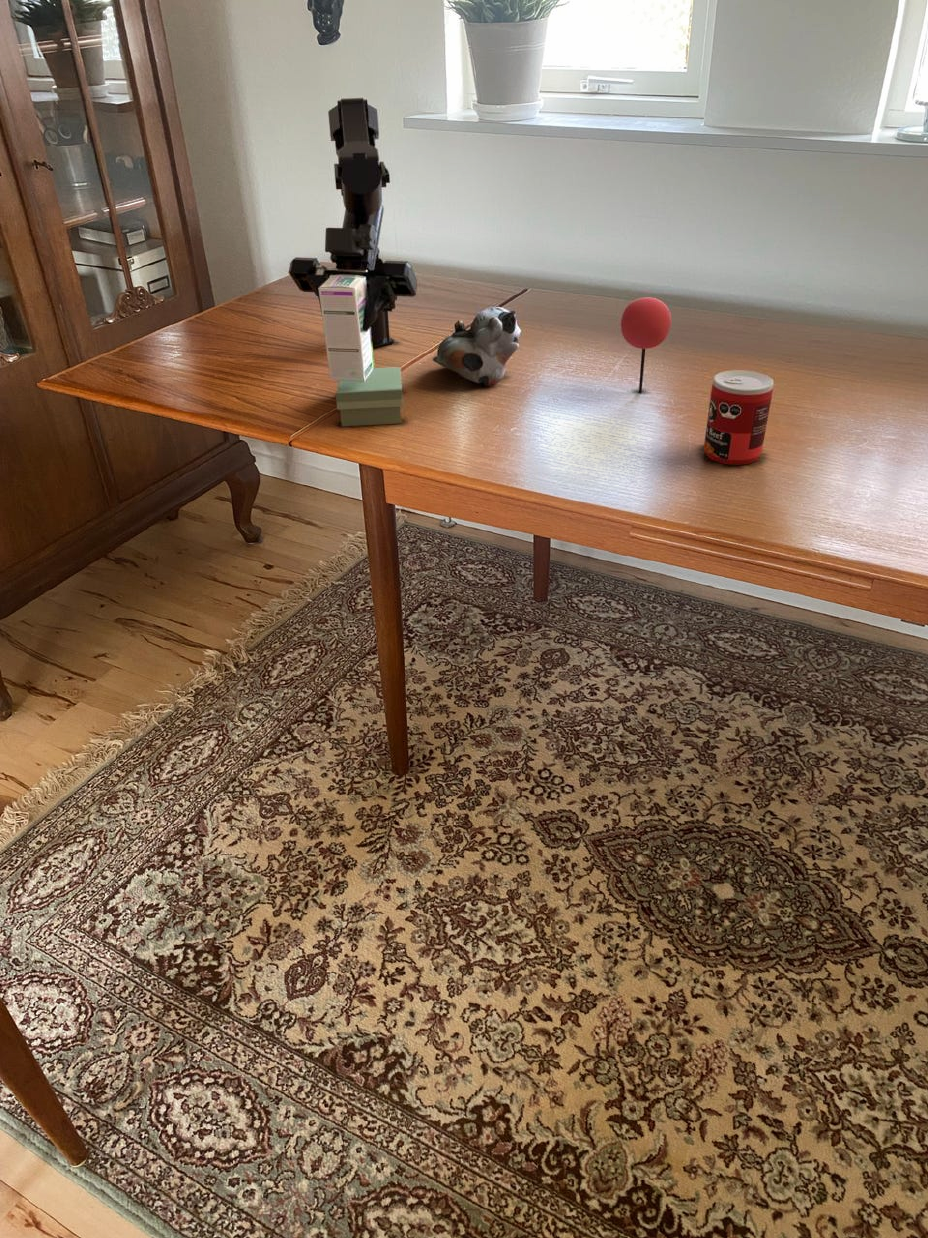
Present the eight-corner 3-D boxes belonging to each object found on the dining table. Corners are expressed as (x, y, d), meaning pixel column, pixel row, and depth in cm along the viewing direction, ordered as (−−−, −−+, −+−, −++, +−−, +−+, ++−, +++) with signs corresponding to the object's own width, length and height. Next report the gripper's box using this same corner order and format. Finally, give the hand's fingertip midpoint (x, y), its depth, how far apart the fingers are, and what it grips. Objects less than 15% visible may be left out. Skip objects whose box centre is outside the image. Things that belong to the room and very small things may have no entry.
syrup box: (365, 383, 141) (357, 287, 132) (328, 380, 142) (317, 285, 133) (375, 368, 145) (367, 274, 137) (339, 366, 146) (329, 273, 137)
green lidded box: (401, 389, 154) (399, 357, 150) (404, 423, 142) (402, 389, 139) (341, 392, 153) (338, 360, 150) (339, 427, 142) (335, 392, 138)
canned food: (696, 444, 134) (706, 370, 128) (750, 441, 134) (762, 367, 128) (712, 467, 128) (723, 391, 121) (768, 464, 128) (782, 388, 122)
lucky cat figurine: (442, 359, 165) (477, 285, 159) (501, 391, 164) (538, 317, 159) (421, 364, 151) (458, 282, 146) (486, 399, 150) (525, 318, 145)
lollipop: (666, 385, 153) (676, 292, 144) (659, 402, 147) (669, 307, 138) (620, 380, 155) (628, 289, 146) (611, 397, 149) (618, 303, 140)
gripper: (284, 199, 134) (266, 299, 132) (408, 202, 131) (391, 305, 129) (309, 242, 145) (293, 335, 143) (424, 246, 142) (409, 341, 139)
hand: (344, 329), depth 138 cm, fingers closed on syrup box, 6 cm apart
